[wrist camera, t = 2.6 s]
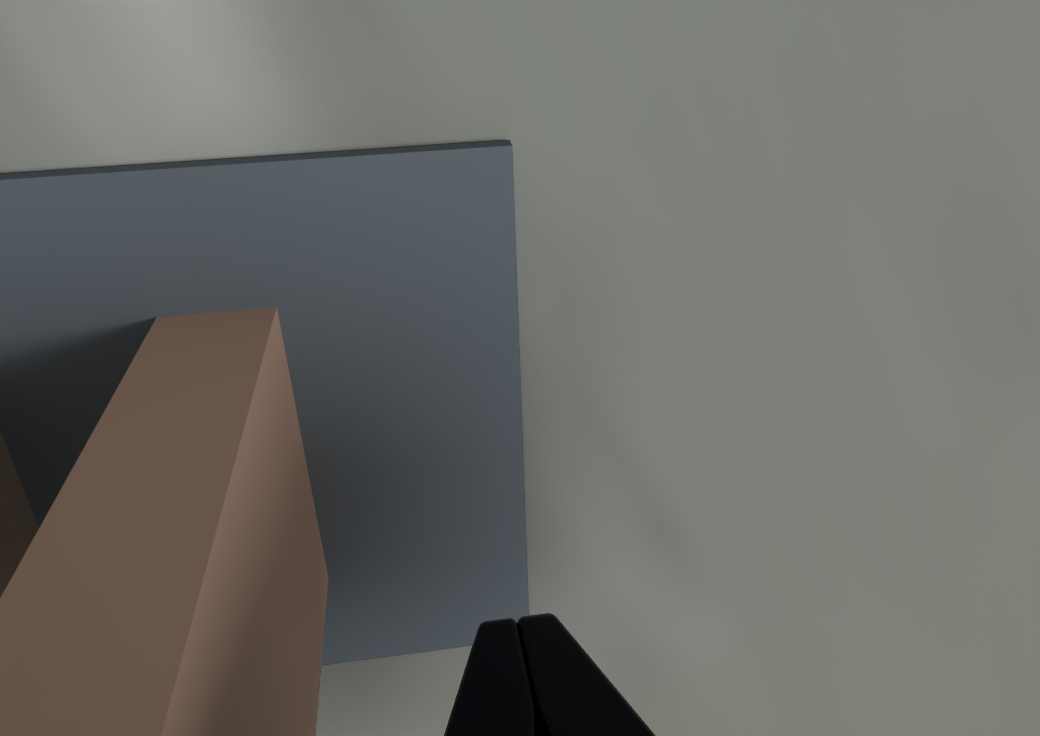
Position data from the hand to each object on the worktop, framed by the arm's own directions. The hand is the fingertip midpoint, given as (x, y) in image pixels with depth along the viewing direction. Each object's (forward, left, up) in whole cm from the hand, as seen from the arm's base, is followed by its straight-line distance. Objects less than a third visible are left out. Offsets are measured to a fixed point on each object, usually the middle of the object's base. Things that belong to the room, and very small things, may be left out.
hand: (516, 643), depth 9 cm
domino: (-2, +3, -4) cm, 5 cm away
